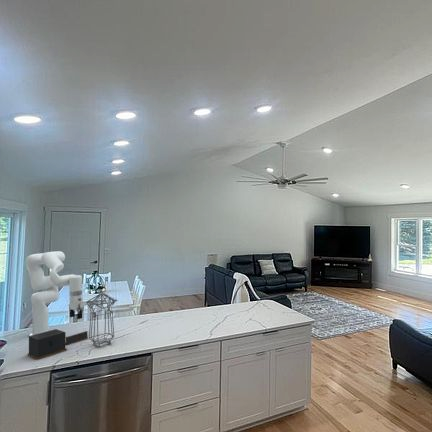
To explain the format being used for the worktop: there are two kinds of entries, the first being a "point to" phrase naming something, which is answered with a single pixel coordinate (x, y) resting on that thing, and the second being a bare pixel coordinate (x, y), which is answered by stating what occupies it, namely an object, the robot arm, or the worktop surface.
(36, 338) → the wood-trimmed dark box
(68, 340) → the brown angular bar frame
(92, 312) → the geometric lantern
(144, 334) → the worktop surface
